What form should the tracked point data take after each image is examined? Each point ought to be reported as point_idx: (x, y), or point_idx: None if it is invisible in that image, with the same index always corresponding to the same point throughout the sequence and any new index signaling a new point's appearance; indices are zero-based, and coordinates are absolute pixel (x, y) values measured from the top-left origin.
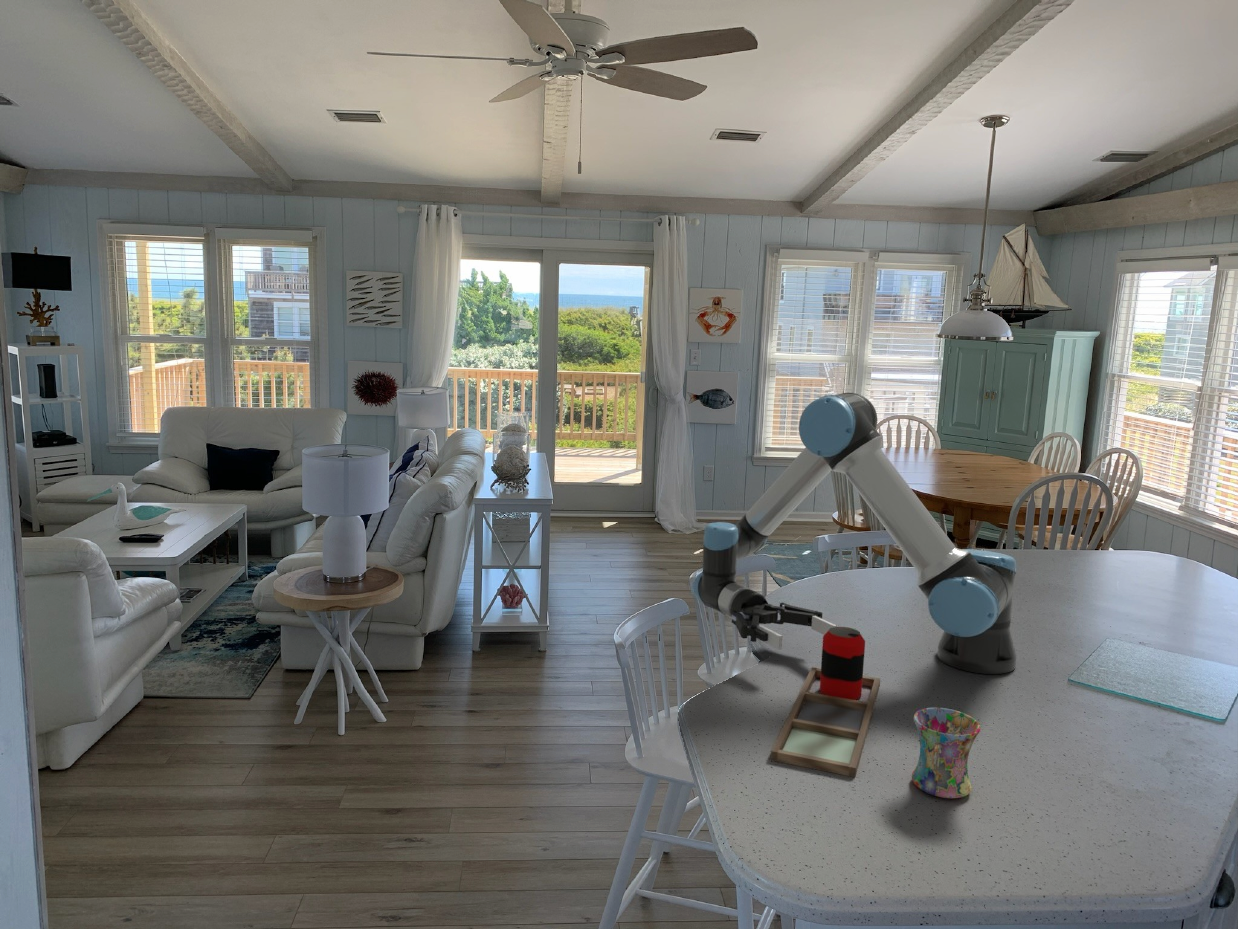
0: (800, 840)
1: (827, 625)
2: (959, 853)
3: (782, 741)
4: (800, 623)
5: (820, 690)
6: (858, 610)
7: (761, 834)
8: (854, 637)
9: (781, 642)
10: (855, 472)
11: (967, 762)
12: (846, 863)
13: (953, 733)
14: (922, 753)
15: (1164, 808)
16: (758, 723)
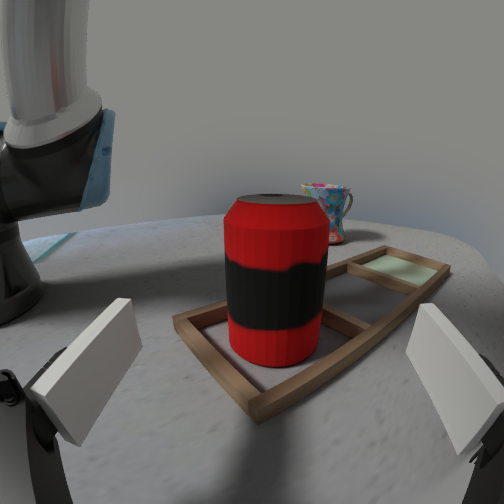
0: (437, 242)
1: (114, 329)
2: (357, 226)
3: (439, 270)
4: (67, 501)
5: (315, 348)
6: None
7: (457, 246)
8: (278, 194)
9: (415, 329)
10: None
11: None
12: (418, 234)
13: None
14: (342, 213)
15: (215, 219)
16: (457, 312)
